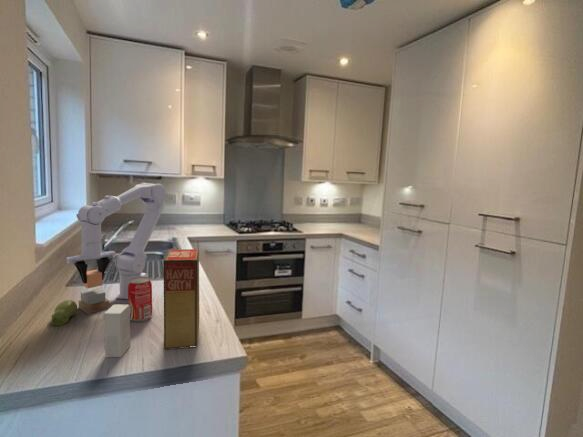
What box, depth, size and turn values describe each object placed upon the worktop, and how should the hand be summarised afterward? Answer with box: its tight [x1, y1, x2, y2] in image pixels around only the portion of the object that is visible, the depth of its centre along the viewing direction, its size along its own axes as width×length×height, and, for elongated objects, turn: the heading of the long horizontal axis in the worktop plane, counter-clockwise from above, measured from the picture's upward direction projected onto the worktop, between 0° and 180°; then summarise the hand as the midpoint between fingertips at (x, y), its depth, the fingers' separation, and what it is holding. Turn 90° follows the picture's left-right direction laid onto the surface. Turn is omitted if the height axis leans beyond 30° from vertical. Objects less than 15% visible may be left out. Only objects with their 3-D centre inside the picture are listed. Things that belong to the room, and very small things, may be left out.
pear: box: [51, 299, 78, 326], centre depth 108 cm, size 6×5×10 cm
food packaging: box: [162, 248, 200, 350], centre depth 99 cm, size 13×9×25 cm
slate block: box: [80, 287, 106, 305], centre depth 117 cm, size 6×6×3 cm
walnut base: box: [78, 298, 110, 314], centre depth 118 cm, size 7×7×3 cm
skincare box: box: [103, 304, 131, 358], centre depth 90 cm, size 6×4×12 cm
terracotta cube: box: [81, 269, 103, 289], centre depth 117 cm, size 4×4×4 cm
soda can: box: [127, 276, 153, 323], centre depth 111 cm, size 7×7×13 cm
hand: (92, 281), depth 116 cm, fingers closed on terracotta cube, 4 cm apart
